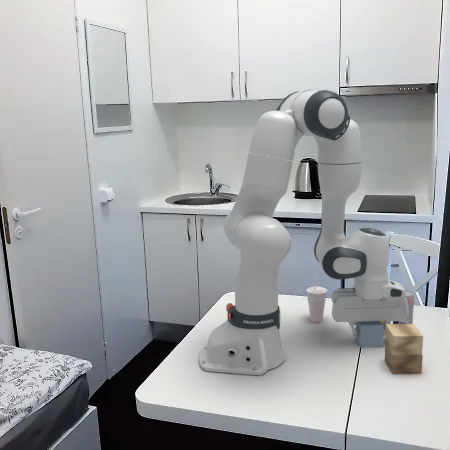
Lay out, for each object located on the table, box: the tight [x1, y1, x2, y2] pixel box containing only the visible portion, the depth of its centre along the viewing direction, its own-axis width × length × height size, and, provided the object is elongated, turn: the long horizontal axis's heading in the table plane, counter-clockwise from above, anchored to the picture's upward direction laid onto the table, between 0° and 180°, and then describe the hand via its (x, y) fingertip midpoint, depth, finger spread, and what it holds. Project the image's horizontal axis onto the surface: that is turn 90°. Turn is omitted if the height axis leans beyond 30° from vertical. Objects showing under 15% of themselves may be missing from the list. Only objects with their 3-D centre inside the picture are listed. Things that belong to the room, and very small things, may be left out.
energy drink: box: [392, 289, 415, 324], centre depth 147 cm, size 5×5×12 cm
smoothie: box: [305, 275, 328, 323], centre depth 157 cm, size 6×6×14 cm
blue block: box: [354, 321, 384, 348], centre depth 142 cm, size 6×6×6 cm
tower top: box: [384, 323, 424, 355], centre depth 128 cm, size 7×7×5 cm
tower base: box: [384, 342, 423, 375], centre depth 129 cm, size 7×7×5 cm
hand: (368, 335), depth 142 cm, fingers closed on blue block, 6 cm apart
